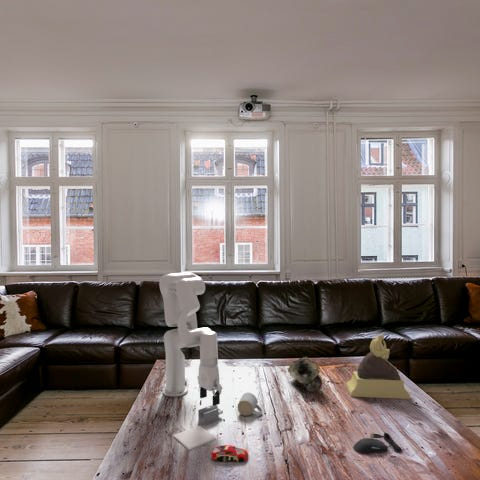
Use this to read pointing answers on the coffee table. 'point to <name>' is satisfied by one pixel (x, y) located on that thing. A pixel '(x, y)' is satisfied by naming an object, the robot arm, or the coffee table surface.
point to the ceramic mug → (248, 405)
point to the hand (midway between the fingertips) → (209, 401)
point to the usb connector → (209, 414)
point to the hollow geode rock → (306, 374)
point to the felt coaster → (194, 437)
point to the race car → (229, 454)
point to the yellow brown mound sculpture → (377, 375)
